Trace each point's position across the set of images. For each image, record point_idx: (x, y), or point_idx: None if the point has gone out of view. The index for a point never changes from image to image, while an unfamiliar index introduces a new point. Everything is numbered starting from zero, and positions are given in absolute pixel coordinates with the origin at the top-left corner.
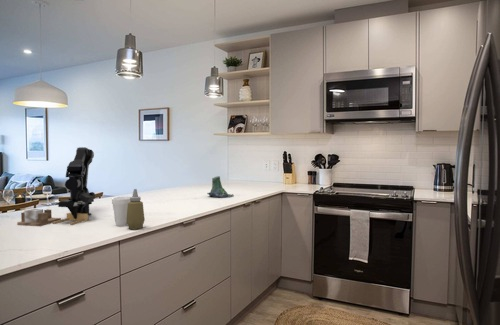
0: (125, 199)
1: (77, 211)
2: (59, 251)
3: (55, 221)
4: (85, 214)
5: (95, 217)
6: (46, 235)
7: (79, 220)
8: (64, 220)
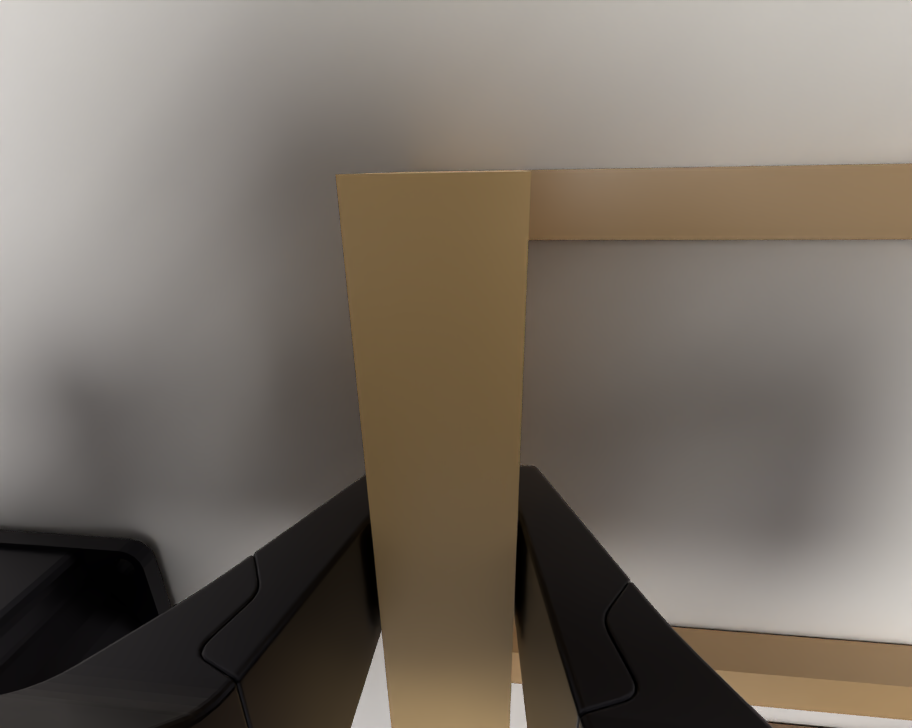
0: None
1: (351, 665)
2: None
3: (887, 698)
4: (495, 173)
5: (48, 236)
6: None
7: (759, 204)
8: None
